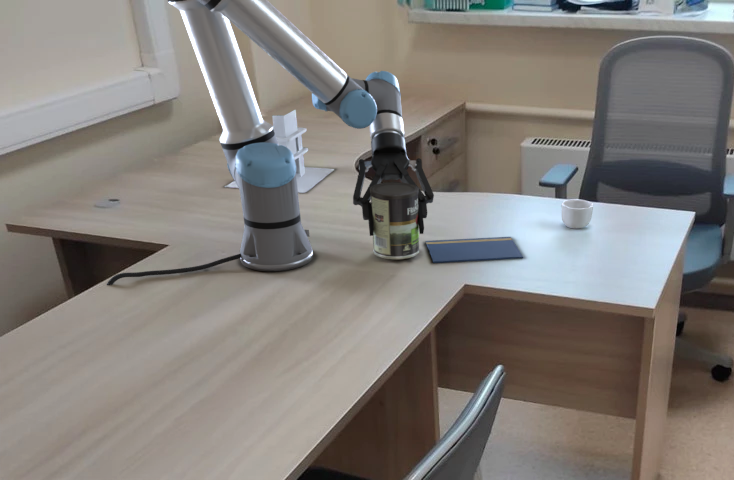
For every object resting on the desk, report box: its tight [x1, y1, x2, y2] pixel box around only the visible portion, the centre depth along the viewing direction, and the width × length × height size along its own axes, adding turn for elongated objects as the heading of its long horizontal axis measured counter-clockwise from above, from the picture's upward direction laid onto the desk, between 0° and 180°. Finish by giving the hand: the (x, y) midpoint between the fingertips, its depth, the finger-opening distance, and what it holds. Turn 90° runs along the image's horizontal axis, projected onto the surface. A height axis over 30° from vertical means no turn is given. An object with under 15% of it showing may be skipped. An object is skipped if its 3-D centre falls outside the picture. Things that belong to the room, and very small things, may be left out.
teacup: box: [560, 198, 594, 230], centre depth 205 cm, size 10×8×5 cm
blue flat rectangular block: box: [425, 236, 524, 264], centre depth 189 cm, size 20×13×1 cm, turn 102°
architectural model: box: [224, 109, 336, 194], centre depth 231 cm, size 23×24×18 cm
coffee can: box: [370, 181, 420, 260], centre depth 182 cm, size 10×10×14 cm
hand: (396, 232), depth 181 cm, fingers closed on coffee can, 10 cm apart
